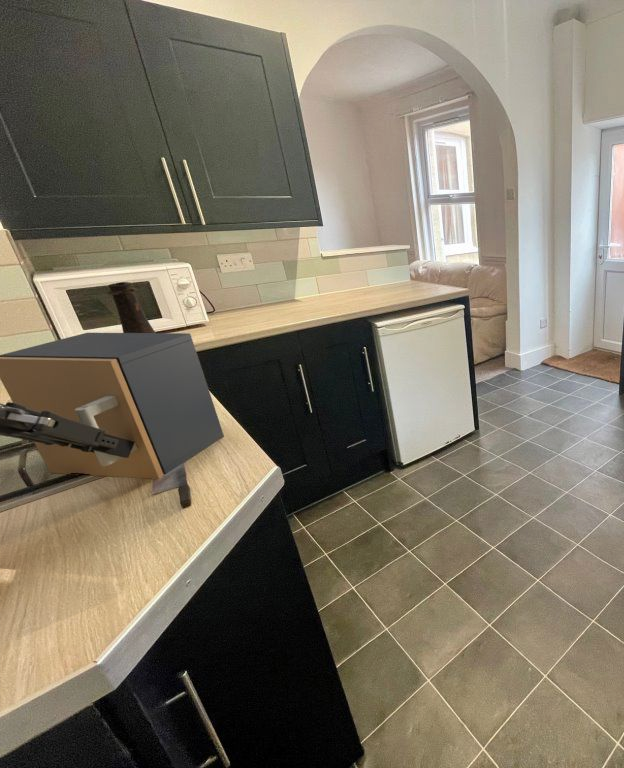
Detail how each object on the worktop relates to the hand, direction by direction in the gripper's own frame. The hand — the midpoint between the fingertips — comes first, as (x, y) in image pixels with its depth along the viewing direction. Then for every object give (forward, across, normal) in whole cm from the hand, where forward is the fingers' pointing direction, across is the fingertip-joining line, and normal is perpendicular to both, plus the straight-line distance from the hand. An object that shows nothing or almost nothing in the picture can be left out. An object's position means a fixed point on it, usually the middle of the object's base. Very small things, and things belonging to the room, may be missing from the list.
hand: (123, 449), depth 70 cm
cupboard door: (+4, +9, +5) cm, 11 cm away
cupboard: (+12, +9, -2) cm, 15 cm away
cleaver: (+5, -7, +6) cm, 10 cm away
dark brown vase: (+35, +38, -25) cm, 58 cm away
